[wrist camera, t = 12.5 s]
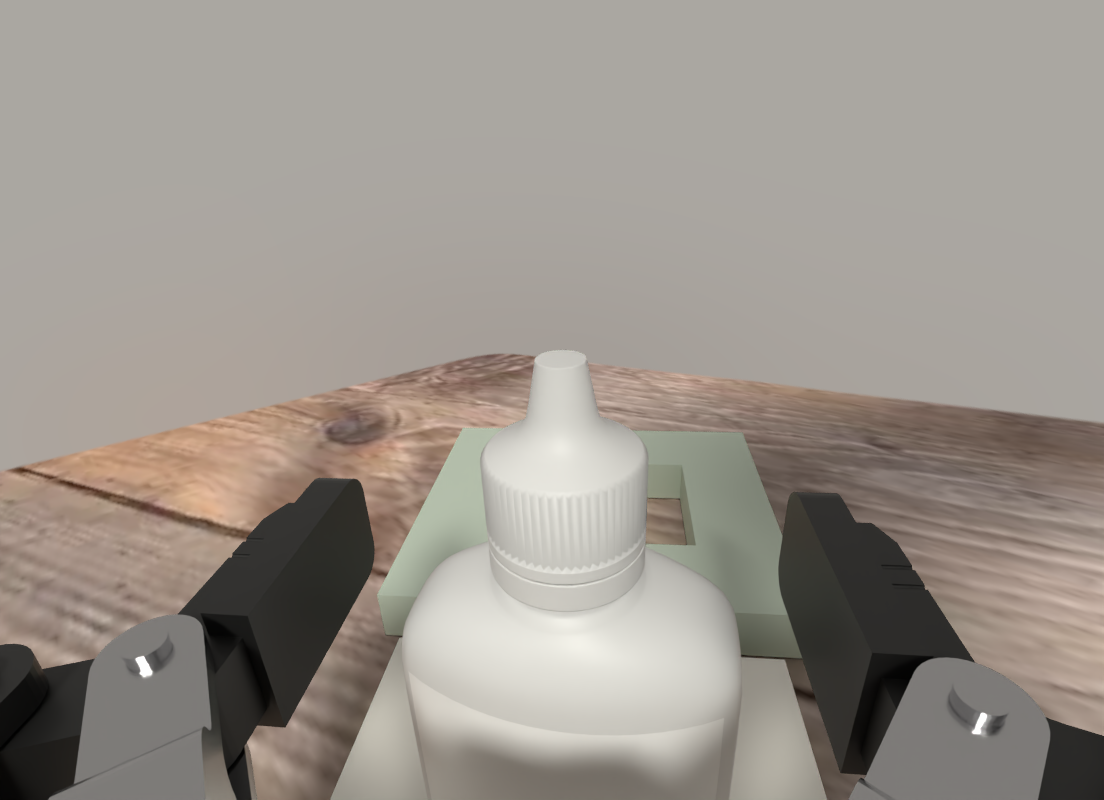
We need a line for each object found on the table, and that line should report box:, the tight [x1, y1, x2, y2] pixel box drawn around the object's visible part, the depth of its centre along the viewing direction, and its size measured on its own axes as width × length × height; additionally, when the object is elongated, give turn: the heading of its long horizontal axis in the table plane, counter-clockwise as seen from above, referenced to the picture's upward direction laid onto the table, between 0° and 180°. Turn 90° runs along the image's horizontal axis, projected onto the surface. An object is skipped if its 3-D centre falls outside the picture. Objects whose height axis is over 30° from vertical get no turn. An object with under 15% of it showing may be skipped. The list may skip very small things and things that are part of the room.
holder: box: [377, 428, 802, 658], centre depth 25 cm, size 14×12×2 cm
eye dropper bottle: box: [402, 350, 742, 800], centre depth 11 cm, size 4×6×12 cm
